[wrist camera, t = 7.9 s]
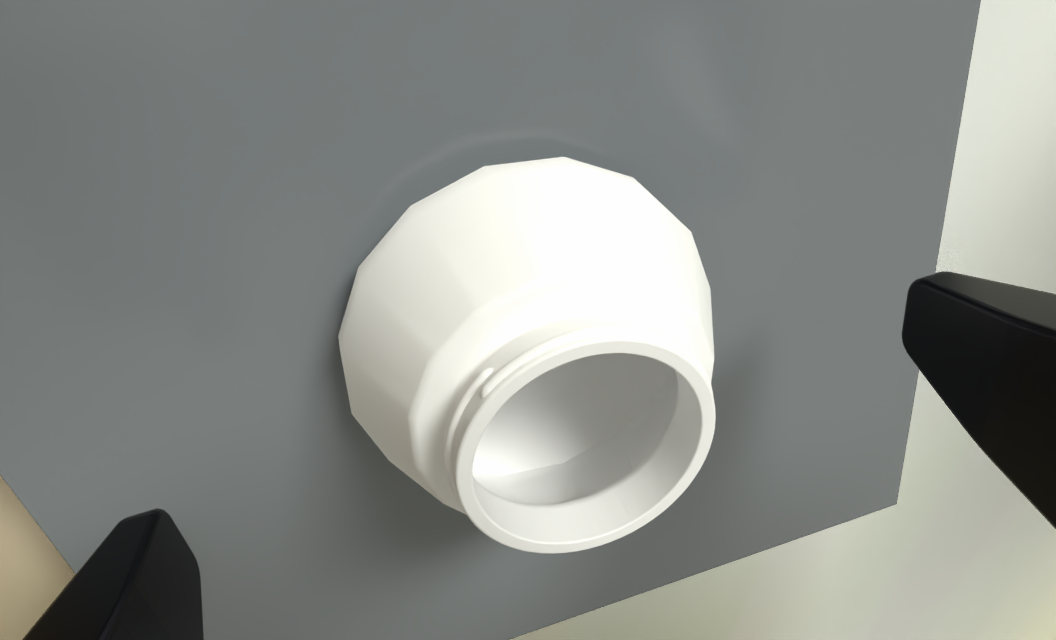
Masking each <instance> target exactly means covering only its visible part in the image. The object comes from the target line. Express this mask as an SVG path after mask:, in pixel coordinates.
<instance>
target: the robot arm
mask: <svg viewBox="0 0 1056 640" xmlns="http://www.w3.org/2000/svg"><path fill="white" fill-rule="evenodd" d="M902 342H903V345H904V348H905V350H906V352H907V354H908V355H909V357H910V358H911V359H912V360H913V362H914V363H915V364H916V366H917V367H918V368H919V370H920V371H921V372H922V374H923V375H924V376H925V377H926V379H927V380H928V381H929V383H930V384H931V385H932V387H933V388H934V389H935V391H936V392H937V393H938V394H939V396H940V397H941V398H942V400H943V401H944V402H945V404H946V405H947V406H948V408H949V409H950V410H951V411H952V413H953V414H954V415H955V417H956V418H957V419H958V421H959V422H960V423H961V425H962V426H963V427H964V428H965V430H966V431H967V432H968V434H969V435H970V436H971V437H972V438H973V440H974V441H975V442H976V443H977V445H978V446H979V447H980V448H981V449H982V450H983V452H984V453H985V454H986V455H987V456H988V457H989V458H990V459H991V461H992V462H993V463H994V464H995V465H996V466H997V467H998V468H999V469H1000V470H1001V471H1002V472H1003V473H1004V474H1005V476H1006V477H1007V478H1008V479H1009V480H1010V481H1011V482H1012V483H1013V484H1014V485H1015V486H1016V487H1017V488H1018V489H1019V490H1020V492H1021V493H1022V494H1023V495H1024V496H1025V497H1026V498H1027V499H1028V500H1029V501H1030V502H1031V503H1032V504H1033V505H1034V506H1035V508H1036V509H1037V510H1038V511H1039V512H1040V513H1041V514H1042V515H1043V516H1044V517H1045V518H1046V519H1047V520H1048V521H1049V522H1050V524H1051V525H1052V526H1053V527H1054V528H1055V529H1056V294H1052V293H1047V292H1043V291H1038V290H1033V289H1028V288H1024V287H1019V286H1014V285H1010V284H1005V283H1000V282H995V281H991V280H986V279H981V278H976V277H972V276H967V275H962V274H958V273H953V272H939V273H935V274H932V275H928V276H925V277H922V278H919V279H916V280H915V281H913V282H912V284H911V285H910V287H909V289H908V293H907V299H906V306H905V313H904V320H903V327H902ZM22 640H204V632H203V613H202V594H201V577H200V570H199V566H198V563H197V560H196V557H195V556H194V554H193V552H192V550H191V549H190V547H189V546H188V544H187V542H186V541H185V539H184V537H183V536H182V534H181V532H180V531H179V529H178V527H177V526H176V524H175V523H174V521H173V519H172V518H171V516H170V515H169V514H168V513H167V512H166V511H165V510H163V509H159V508H156V509H152V510H149V511H146V512H142V513H139V514H136V515H132V516H129V517H126V518H124V519H122V520H121V521H120V522H119V523H118V524H117V525H116V526H115V527H114V528H113V530H112V531H111V532H110V533H109V534H108V536H107V537H106V538H105V539H104V541H103V542H102V543H101V544H100V545H99V547H98V548H97V549H96V550H95V552H94V553H93V554H92V555H91V556H90V558H89V559H88V560H87V561H86V563H85V564H84V565H83V566H82V567H81V569H80V570H79V571H78V572H77V573H76V575H75V576H74V577H73V578H72V580H71V581H70V582H69V583H68V584H67V586H66V587H65V588H64V589H63V591H62V592H61V593H60V594H59V595H58V597H57V598H56V599H55V600H54V602H53V603H52V604H51V605H50V606H49V608H48V609H47V610H46V611H45V613H44V614H43V615H42V616H41V617H40V619H39V620H38V621H37V622H36V624H35V625H34V626H33V627H32V628H31V630H30V631H29V632H28V633H27V635H26V636H25V637H24V638H23V639H22Z"/></svg>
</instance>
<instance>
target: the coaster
mask: <svg viewBox="0 0 1056 640" xmlns="http://www.w3.org/2000/svg"><path fill="white" fill-rule="evenodd" d="M980 2H981V0H0V475H1V476H2V478H3V479H4V480H5V482H6V483H7V484H8V486H9V487H10V488H11V490H12V491H13V492H14V493H15V495H16V496H17V497H18V499H19V500H20V501H21V503H22V504H23V505H24V507H25V508H26V509H27V511H28V512H29V513H30V515H31V516H32V517H33V518H34V520H35V521H36V522H37V524H38V525H39V526H40V528H41V529H42V530H43V532H44V533H45V534H46V536H47V537H48V538H49V540H50V541H51V542H52V544H53V545H54V546H55V547H56V549H57V550H58V551H59V553H60V554H61V555H62V557H63V558H64V559H65V561H66V562H67V563H68V565H69V566H70V567H71V569H72V570H73V571H74V572H75V574H76V573H77V572H78V571H79V570H80V569H81V567H82V566H83V565H84V564H85V563H86V561H87V560H88V559H89V558H90V556H91V555H92V554H93V553H94V552H95V550H96V549H97V548H98V547H99V545H100V544H101V543H102V542H103V541H104V539H105V538H106V537H107V536H108V534H109V533H110V532H111V531H112V530H113V528H114V527H115V526H116V525H117V524H118V523H119V522H120V521H121V520H122V519H124V518H126V517H129V516H132V515H136V514H139V513H142V512H146V511H149V510H152V509H156V508H159V509H163V510H165V511H166V512H167V513H168V514H169V515H170V516H171V518H172V519H173V521H174V523H175V524H176V526H177V527H178V529H179V531H180V532H181V534H182V536H183V537H184V539H185V541H186V542H187V544H188V546H189V547H190V549H191V550H192V552H193V554H194V556H195V557H196V560H197V563H198V566H199V570H200V577H201V594H202V613H203V632H204V640H509V639H512V638H515V637H518V636H521V635H524V634H527V633H529V632H532V631H535V630H538V629H541V628H544V627H547V626H549V625H552V624H555V623H558V622H561V621H564V620H567V619H569V618H572V617H575V616H578V615H581V614H584V613H587V612H589V611H592V610H595V609H598V608H601V607H604V606H607V605H609V604H612V603H615V602H618V601H621V600H624V599H627V598H629V597H632V596H635V595H638V594H641V593H644V592H647V591H649V590H652V589H655V588H658V587H661V586H664V585H667V584H669V583H672V582H675V581H678V580H681V579H684V578H687V577H690V576H692V575H695V574H698V573H701V572H704V571H707V570H710V569H712V568H715V567H718V566H721V565H724V564H727V563H730V562H732V561H735V560H738V559H741V558H744V557H747V556H750V555H752V554H755V553H758V552H761V551H764V550H767V549H770V548H772V547H775V546H778V545H781V544H784V543H787V542H790V541H792V540H795V539H798V538H801V537H804V536H807V535H810V534H812V533H815V532H818V531H821V530H824V529H827V528H830V527H832V526H835V525H838V524H841V523H844V522H847V521H850V520H852V519H855V518H858V517H861V516H864V515H867V514H870V513H872V512H875V511H878V510H881V509H884V508H887V507H890V506H892V505H895V504H897V498H898V492H899V486H900V480H901V474H902V468H903V462H904V456H905V450H906V444H907V438H908V432H909V426H910V420H911V414H912V408H913V402H914V396H915V390H916V384H917V378H918V372H919V368H918V367H917V366H916V364H915V363H914V362H913V360H912V359H911V358H910V357H909V355H908V354H907V352H906V350H905V348H904V345H903V342H902V327H903V320H904V313H905V306H906V299H907V293H908V289H909V287H910V285H911V284H912V282H913V281H915V280H916V279H919V278H922V277H925V276H928V275H932V274H935V271H936V265H937V259H938V253H939V247H940V241H941V235H942V229H943V223H944V217H945V211H946V205H947V199H948V193H949V187H950V181H951V175H952V169H953V163H954V157H955V151H956V145H957V139H958V133H959V127H960V121H961V115H962V109H963V103H964V97H965V91H966V85H967V79H968V73H969V67H970V61H971V55H972V49H973V44H974V38H975V32H976V26H977V20H978V14H979V8H980ZM557 157H567V158H570V159H573V160H577V161H580V162H583V163H587V164H590V165H593V166H597V167H600V168H603V169H607V170H610V171H613V172H617V173H620V174H623V175H627V176H630V177H633V178H634V179H635V180H636V181H638V182H639V183H640V184H641V185H642V186H643V187H644V188H645V189H646V190H647V191H648V192H649V193H651V194H652V195H653V196H654V197H655V198H656V199H657V200H658V201H659V202H660V203H661V204H662V205H663V206H664V207H665V208H666V209H668V210H669V211H670V212H671V213H672V214H673V215H674V216H675V217H676V218H677V219H678V220H679V221H680V222H681V223H682V224H684V225H685V226H686V227H687V228H688V229H689V230H690V231H691V233H692V236H693V239H694V242H695V245H696V247H697V250H698V253H699V256H700V259H701V262H702V265H703V268H704V271H705V274H706V277H707V280H708V283H709V286H710V289H711V307H712V324H713V342H714V365H713V372H712V380H711V386H712V391H713V398H714V403H715V414H716V420H715V430H714V435H713V440H712V443H711V446H710V449H709V452H708V454H707V457H706V459H705V461H704V463H703V465H702V467H701V469H700V470H699V472H698V473H697V475H696V476H695V478H694V479H693V481H692V482H691V483H690V485H689V486H688V487H687V489H686V490H685V491H684V492H683V493H682V494H681V495H680V496H679V497H678V498H677V499H676V500H675V501H674V502H673V503H672V504H671V505H670V506H669V507H668V508H667V509H666V510H665V511H663V512H662V513H661V514H660V515H658V516H657V517H656V518H654V519H653V520H651V521H650V522H648V523H647V524H645V525H644V526H642V527H640V528H639V529H637V530H635V531H634V532H632V533H630V534H628V535H626V536H624V537H621V538H619V539H617V540H614V541H612V542H609V543H606V544H604V545H601V546H597V547H594V548H590V549H586V550H581V551H576V552H568V553H554V554H550V553H534V552H527V551H522V550H518V549H515V548H511V547H508V546H506V545H503V544H501V543H499V542H497V541H495V540H493V539H491V538H490V537H489V536H487V535H486V534H484V533H483V532H482V531H481V530H480V529H478V528H477V527H476V526H475V525H474V523H473V522H472V521H471V520H470V519H469V517H468V516H467V515H466V514H464V513H462V512H460V511H458V510H455V509H453V508H451V507H449V506H447V505H445V504H443V503H442V502H440V501H439V500H438V499H437V498H435V497H434V496H433V495H432V494H430V493H429V492H428V491H427V490H425V489H424V488H423V487H421V486H420V485H419V484H418V483H416V482H415V481H414V480H413V479H411V478H410V477H409V476H408V475H406V474H405V473H404V472H402V471H401V470H400V469H399V468H397V467H396V466H395V465H394V464H392V463H391V462H390V461H389V460H388V459H387V457H386V456H385V455H384V454H383V452H382V451H381V450H380V449H379V447H378V446H377V445H376V444H375V442H374V441H373V440H372V439H371V437H370V436H369V435H368V434H367V432H366V431H365V430H364V429H363V427H362V426H361V425H360V424H359V422H358V421H357V420H356V419H355V417H354V416H353V415H352V413H351V407H350V402H349V397H348V391H347V386H346V380H345V375H344V370H343V364H342V359H341V353H340V347H339V339H338V335H339V331H340V328H341V324H342V321H343V318H344V314H345V311H346V307H347V304H348V301H349V297H350V294H351V290H352V287H353V284H354V280H355V277H356V273H357V270H358V267H359V266H360V265H361V263H362V262H363V261H364V260H365V259H366V257H367V256H368V255H369V254H370V253H371V252H372V250H373V249H374V248H375V247H376V246H377V244H378V243H379V242H380V241H381V240H382V239H383V237H384V236H385V235H386V234H387V233H388V231H389V230H390V229H391V228H392V227H393V226H394V224H395V223H396V222H397V221H398V220H399V218H400V217H401V216H402V215H403V214H404V213H405V211H406V210H407V209H408V208H409V207H410V206H411V205H413V204H415V203H416V202H418V201H420V200H422V199H424V198H426V197H428V196H429V195H431V194H433V193H435V192H437V191H439V190H441V189H443V188H444V187H446V186H448V185H450V184H452V183H454V182H456V181H457V180H459V179H461V178H463V177H465V176H467V175H469V174H470V173H472V172H474V171H476V170H478V169H480V168H482V167H483V166H490V165H498V164H507V163H515V162H523V161H532V160H540V159H549V158H557Z"/></svg>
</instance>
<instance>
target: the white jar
mask: <svg viewBox="0 0 1056 640" xmlns="http://www.w3.org/2000/svg"><path fill="white" fill-rule="evenodd" d="M338 339H339V347H340V353H341V359H342V364H343V370H344V375H345V380H346V386H347V391H348V397H349V402H350V407H351V413H352V415H353V416H354V417H355V419H356V420H357V421H358V422H359V424H360V425H361V426H362V427H363V429H364V430H365V431H366V432H367V434H368V435H369V436H370V437H371V439H372V440H373V441H374V442H375V444H376V445H377V446H378V447H379V449H380V450H381V451H382V452H383V454H384V455H385V456H386V457H387V459H388V460H389V461H390V462H391V463H392V464H394V465H395V466H396V467H397V468H399V469H400V470H401V471H402V472H404V473H405V474H406V475H408V476H409V477H410V478H411V479H413V480H414V481H415V482H416V483H418V484H419V485H420V486H421V487H423V488H424V489H425V490H427V491H428V492H429V493H430V494H432V495H433V496H434V497H435V498H437V499H438V500H439V501H440V502H442V503H443V504H445V505H447V506H449V507H451V508H453V509H455V510H458V511H460V512H462V513H464V514H466V515H467V516H468V517H469V519H470V520H471V521H472V522H473V523H474V525H475V526H476V527H477V528H478V529H480V530H481V531H482V532H483V533H484V534H486V535H487V536H489V537H490V538H491V539H493V540H495V541H497V542H499V543H501V544H503V545H506V546H508V547H511V548H515V549H518V550H522V551H527V552H534V553H550V554H554V553H568V552H576V551H581V550H586V549H590V548H594V547H597V546H601V545H604V544H606V543H609V542H612V541H614V540H617V539H619V538H621V537H624V536H626V535H628V534H630V533H632V532H634V531H635V530H637V529H639V528H640V527H642V526H644V525H645V524H647V523H648V522H650V521H651V520H653V519H654V518H656V517H657V516H658V515H660V514H661V513H662V512H663V511H665V510H666V509H667V508H668V507H669V506H670V505H671V504H672V503H673V502H674V501H675V500H676V499H677V498H678V497H679V496H680V495H681V494H682V493H683V492H684V491H685V490H686V489H687V487H688V486H689V485H690V483H691V482H692V481H693V479H694V478H695V476H696V475H697V473H698V472H699V470H700V469H701V467H702V465H703V463H704V461H705V459H706V457H707V454H708V452H709V449H710V446H711V443H712V440H713V435H714V430H715V420H716V414H715V403H714V398H713V391H712V386H711V380H712V372H713V365H714V342H713V324H712V307H711V289H710V286H709V283H708V280H707V277H706V274H705V271H704V268H703V265H702V262H701V259H700V256H699V253H698V250H697V247H696V245H695V242H694V239H693V236H692V233H691V231H690V230H689V229H688V228H687V227H686V226H685V225H684V224H682V223H681V222H680V221H679V220H678V219H677V218H676V217H675V216H674V215H673V214H672V213H671V212H670V211H669V210H668V209H666V208H665V207H664V206H663V205H662V204H661V203H660V202H659V201H658V200H657V199H656V198H655V197H654V196H653V195H652V194H651V193H649V192H648V191H647V190H646V189H645V188H644V187H643V186H642V185H641V184H640V183H639V182H638V181H636V180H635V179H634V178H633V177H630V176H627V175H623V174H620V173H617V172H613V171H610V170H607V169H603V168H600V167H597V166H593V165H590V164H587V163H583V162H580V161H577V160H573V159H570V158H567V157H557V158H549V159H540V160H532V161H523V162H515V163H507V164H498V165H490V166H483V167H482V168H480V169H478V170H476V171H474V172H472V173H470V174H469V175H467V176H465V177H463V178H461V179H459V180H457V181H456V182H454V183H452V184H450V185H448V186H446V187H444V188H443V189H441V190H439V191H437V192H435V193H433V194H431V195H429V196H428V197H426V198H424V199H422V200H420V201H418V202H416V203H415V204H413V205H411V206H410V207H409V208H408V209H407V210H406V211H405V213H404V214H403V215H402V216H401V217H400V218H399V220H398V221H397V222H396V223H395V224H394V226H393V227H392V228H391V229H390V230H389V231H388V233H387V234H386V235H385V236H384V237H383V239H382V240H381V241H380V242H379V243H378V244H377V246H376V247H375V248H374V249H373V250H372V252H371V253H370V254H369V255H368V256H367V257H366V259H365V260H364V261H363V262H362V263H361V265H360V266H359V267H358V270H357V273H356V277H355V280H354V284H353V287H352V290H351V294H350V297H349V301H348V304H347V307H346V311H345V314H344V318H343V321H342V324H341V328H340V331H339V335H338Z"/></svg>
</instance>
